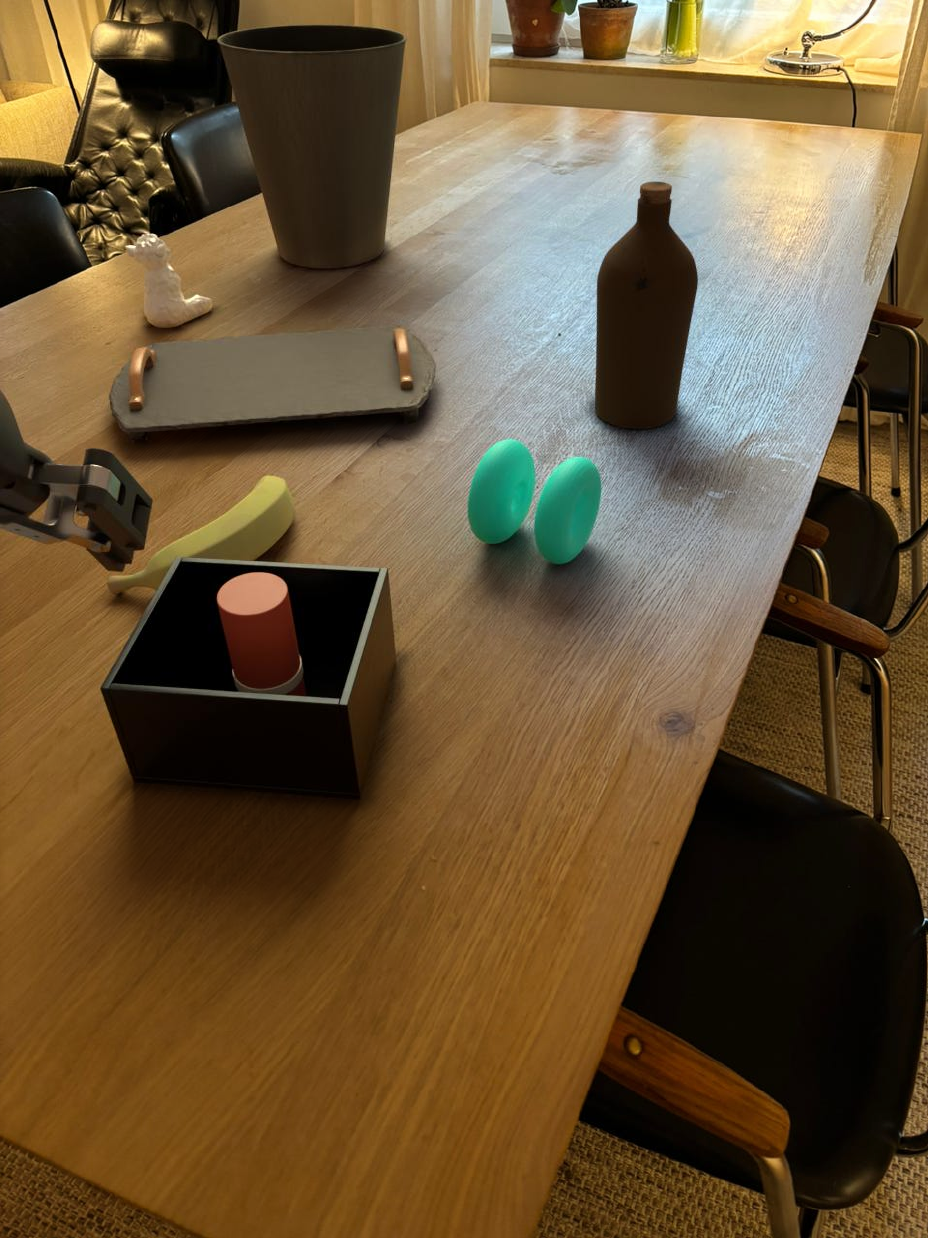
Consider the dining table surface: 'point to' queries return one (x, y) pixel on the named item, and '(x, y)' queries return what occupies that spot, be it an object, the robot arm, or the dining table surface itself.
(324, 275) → the dining table surface
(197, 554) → the banana
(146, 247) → the white creature statuette
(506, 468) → the green wheel pair
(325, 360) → the serving tray
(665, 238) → the olive oil
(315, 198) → the waste basket
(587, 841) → the dining table surface
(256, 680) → the striped red cylinder
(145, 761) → the bin
